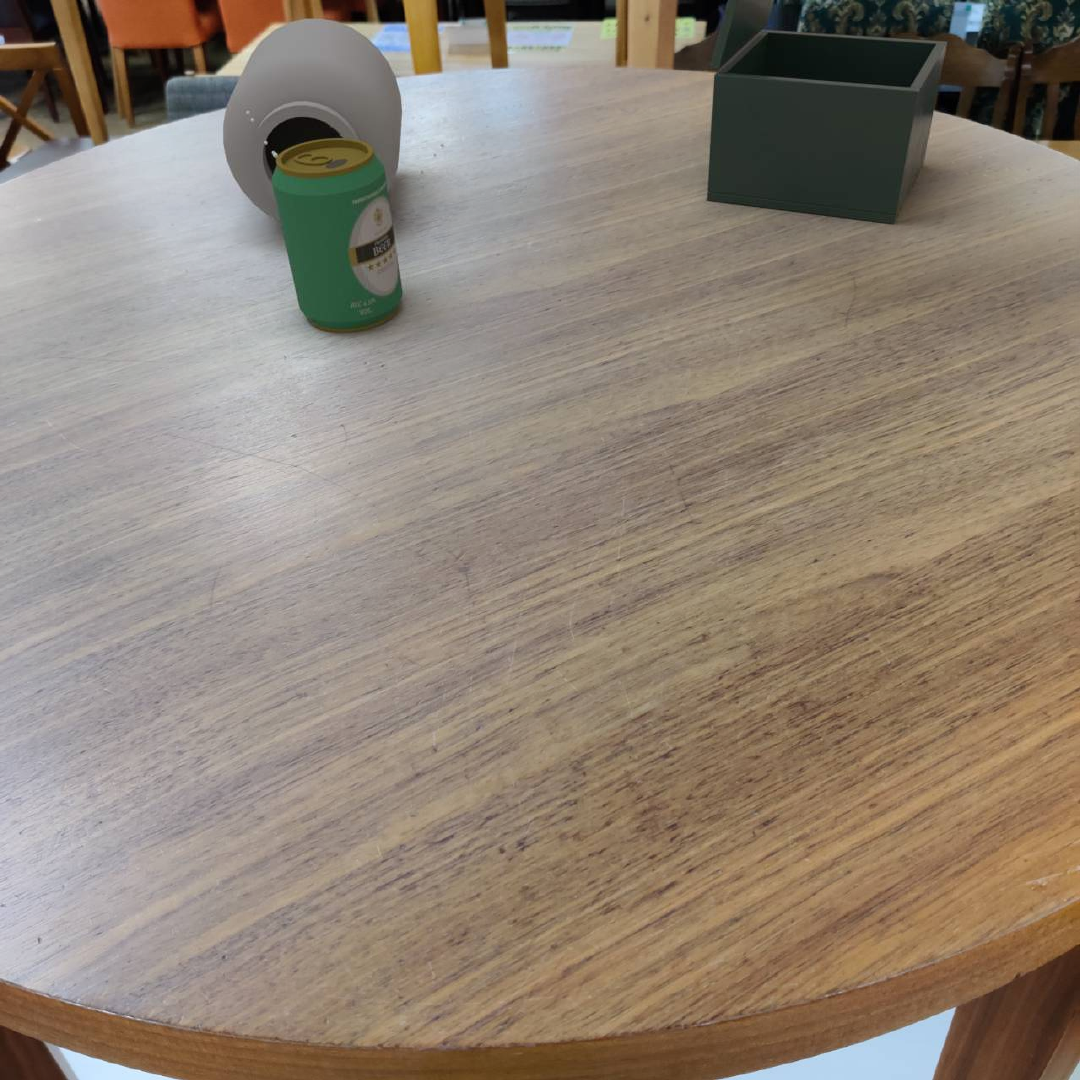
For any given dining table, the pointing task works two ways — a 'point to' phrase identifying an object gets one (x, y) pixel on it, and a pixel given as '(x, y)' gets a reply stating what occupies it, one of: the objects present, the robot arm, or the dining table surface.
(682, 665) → the dining table surface
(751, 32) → the bin lid
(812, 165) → the bin
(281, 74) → the jar
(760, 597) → the dining table surface
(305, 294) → the beverage can
